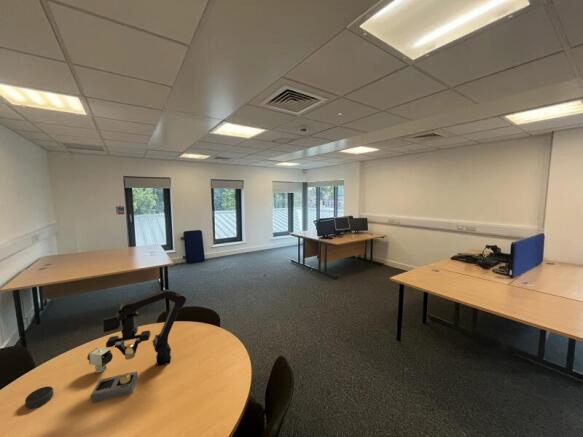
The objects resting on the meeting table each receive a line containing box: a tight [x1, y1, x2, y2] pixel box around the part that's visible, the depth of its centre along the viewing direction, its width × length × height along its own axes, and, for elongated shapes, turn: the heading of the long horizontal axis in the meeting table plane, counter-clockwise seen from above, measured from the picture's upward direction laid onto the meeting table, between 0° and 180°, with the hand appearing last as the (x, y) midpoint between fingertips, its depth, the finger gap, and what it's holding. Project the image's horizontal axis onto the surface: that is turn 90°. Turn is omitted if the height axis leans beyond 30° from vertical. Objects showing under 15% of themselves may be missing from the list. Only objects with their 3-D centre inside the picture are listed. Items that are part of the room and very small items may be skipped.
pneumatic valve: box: [86, 347, 113, 374], centre depth 130 cm, size 6×12×12 cm, turn 78°
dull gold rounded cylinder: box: [120, 372, 131, 385], centre depth 118 cm, size 4×4×6 cm
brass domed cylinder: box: [124, 343, 136, 360], centre depth 126 cm, size 4×4×6 cm
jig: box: [90, 371, 139, 404], centre depth 116 cm, size 16×10×4 cm, turn 110°
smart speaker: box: [24, 385, 54, 409], centre depth 110 cm, size 9×9×4 cm
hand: (130, 353), depth 126 cm, fingers closed on brass domed cylinder, 4 cm apart
